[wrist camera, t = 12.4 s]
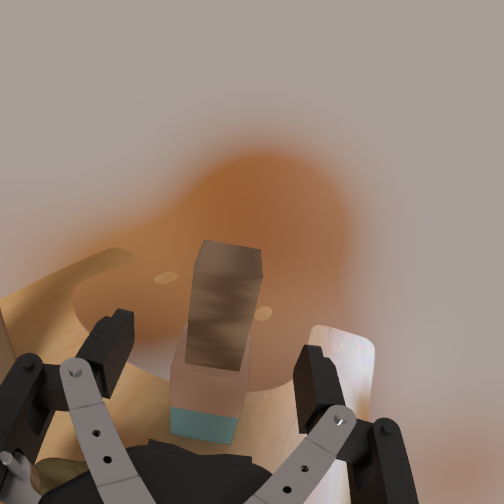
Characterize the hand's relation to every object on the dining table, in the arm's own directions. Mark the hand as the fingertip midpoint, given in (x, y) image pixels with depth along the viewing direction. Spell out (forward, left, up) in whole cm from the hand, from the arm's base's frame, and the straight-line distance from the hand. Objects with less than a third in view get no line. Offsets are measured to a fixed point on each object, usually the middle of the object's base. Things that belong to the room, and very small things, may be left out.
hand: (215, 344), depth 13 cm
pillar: (0, +12, -11) cm, 16 cm away
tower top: (0, +11, -17) cm, 20 cm away
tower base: (0, +12, -23) cm, 26 cm away
